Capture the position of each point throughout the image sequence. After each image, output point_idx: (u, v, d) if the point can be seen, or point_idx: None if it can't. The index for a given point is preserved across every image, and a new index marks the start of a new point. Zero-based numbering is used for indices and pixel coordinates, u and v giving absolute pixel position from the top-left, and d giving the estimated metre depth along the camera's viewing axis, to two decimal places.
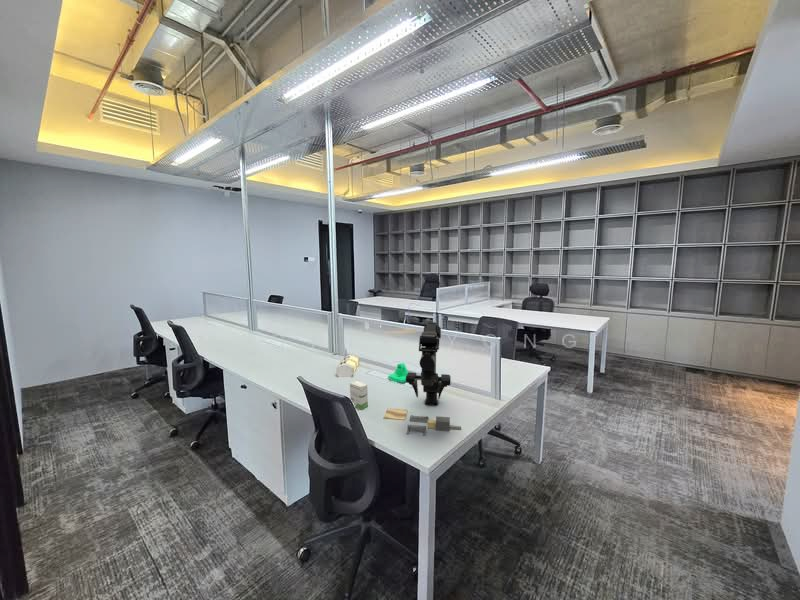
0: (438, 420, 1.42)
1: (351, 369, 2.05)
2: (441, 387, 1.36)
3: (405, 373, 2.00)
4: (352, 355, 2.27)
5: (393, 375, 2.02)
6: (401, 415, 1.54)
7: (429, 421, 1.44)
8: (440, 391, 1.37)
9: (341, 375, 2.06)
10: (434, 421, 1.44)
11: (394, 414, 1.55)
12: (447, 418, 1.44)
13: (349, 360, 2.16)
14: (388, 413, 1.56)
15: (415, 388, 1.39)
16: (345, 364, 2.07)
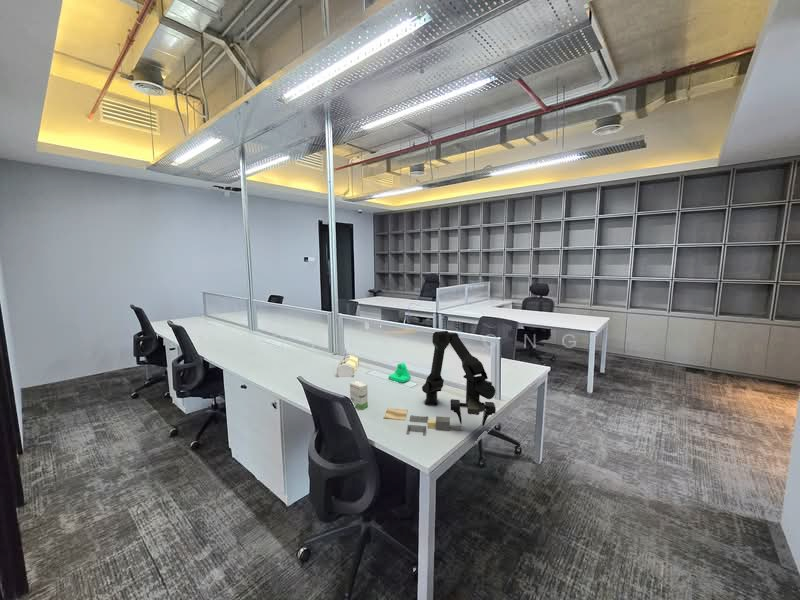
0: (438, 420, 1.42)
1: (352, 369, 2.05)
2: (486, 415, 1.38)
3: (405, 373, 2.00)
4: (352, 355, 2.27)
5: (393, 375, 2.03)
6: (401, 415, 1.54)
7: (429, 421, 1.44)
8: (485, 419, 1.39)
9: (341, 375, 2.06)
10: (434, 421, 1.44)
11: (394, 414, 1.55)
12: (447, 418, 1.44)
13: (349, 360, 2.16)
14: (388, 413, 1.56)
15: (459, 415, 1.40)
16: (345, 364, 2.07)
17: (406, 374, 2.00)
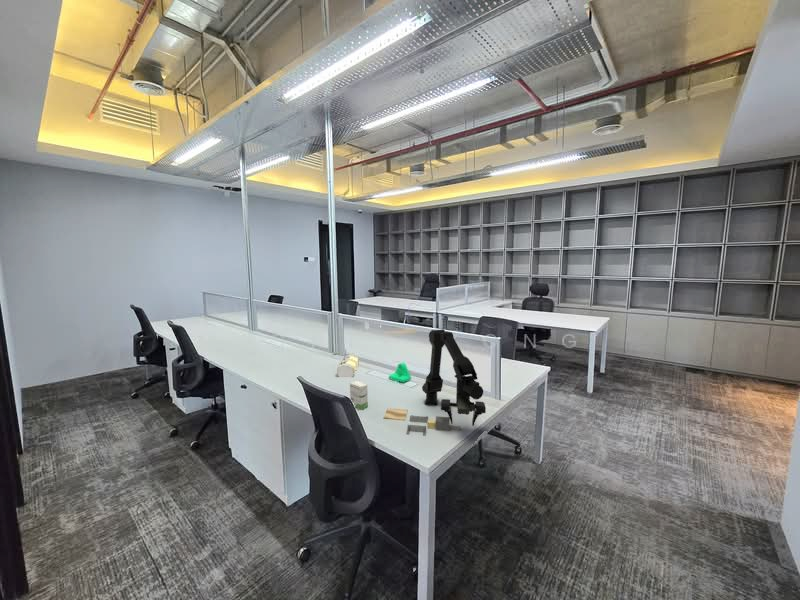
0: (438, 420, 1.42)
1: (352, 369, 2.05)
2: (476, 415, 1.38)
3: (406, 373, 2.01)
4: (352, 355, 2.27)
5: (394, 375, 2.03)
6: (401, 415, 1.54)
7: (429, 421, 1.44)
8: (474, 418, 1.40)
9: (342, 375, 2.06)
10: (434, 421, 1.44)
11: (394, 414, 1.55)
12: (447, 418, 1.44)
13: (349, 360, 2.16)
14: (388, 413, 1.56)
15: (450, 415, 1.41)
16: (346, 364, 2.07)
17: (406, 374, 2.00)
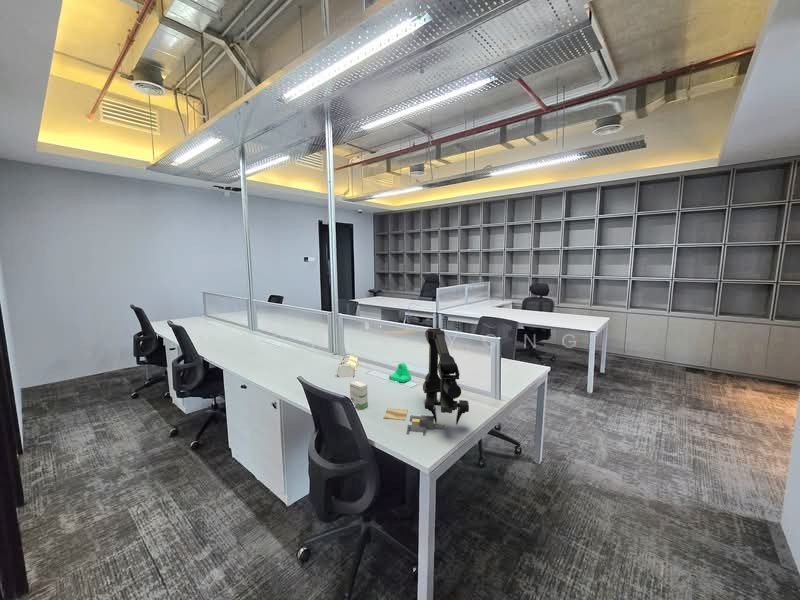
0: (422, 419, 1.43)
1: (352, 369, 2.05)
2: (459, 413, 1.40)
3: (406, 373, 2.01)
4: (351, 355, 2.27)
5: (394, 375, 2.03)
6: (401, 415, 1.54)
7: (413, 420, 1.45)
8: (458, 417, 1.41)
9: (342, 375, 2.05)
10: (418, 420, 1.45)
11: (394, 414, 1.55)
12: (431, 417, 1.45)
13: (349, 360, 2.15)
14: (388, 413, 1.56)
15: (434, 414, 1.42)
16: (346, 364, 2.07)
17: (407, 374, 2.01)
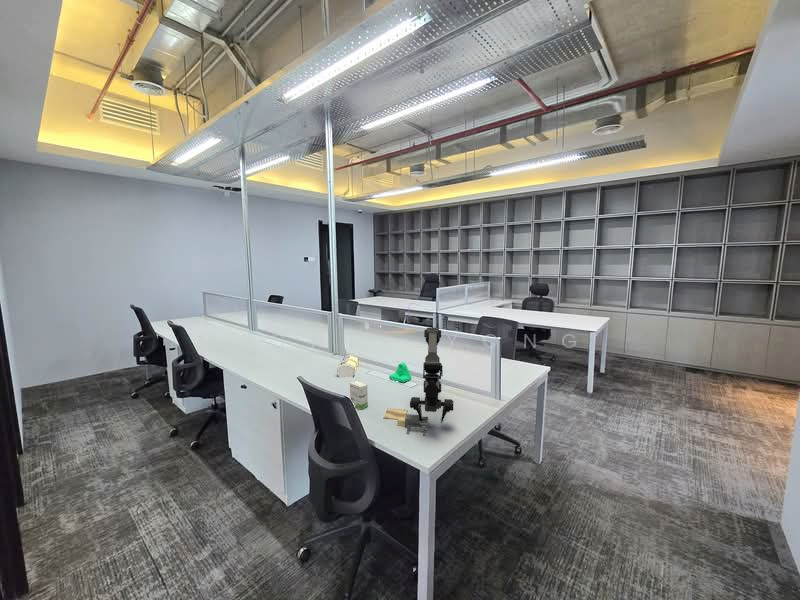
0: (407, 418, 1.44)
1: (352, 369, 2.05)
2: (444, 412, 1.40)
3: (406, 372, 2.01)
4: (351, 355, 2.27)
5: (394, 375, 2.03)
6: (401, 415, 1.54)
7: (399, 419, 1.46)
8: (443, 416, 1.42)
9: (342, 375, 2.05)
10: (404, 419, 1.46)
11: (394, 414, 1.55)
12: (416, 416, 1.46)
13: (349, 360, 2.15)
14: (388, 413, 1.56)
15: (419, 413, 1.43)
16: (346, 364, 2.07)
17: (407, 374, 2.01)
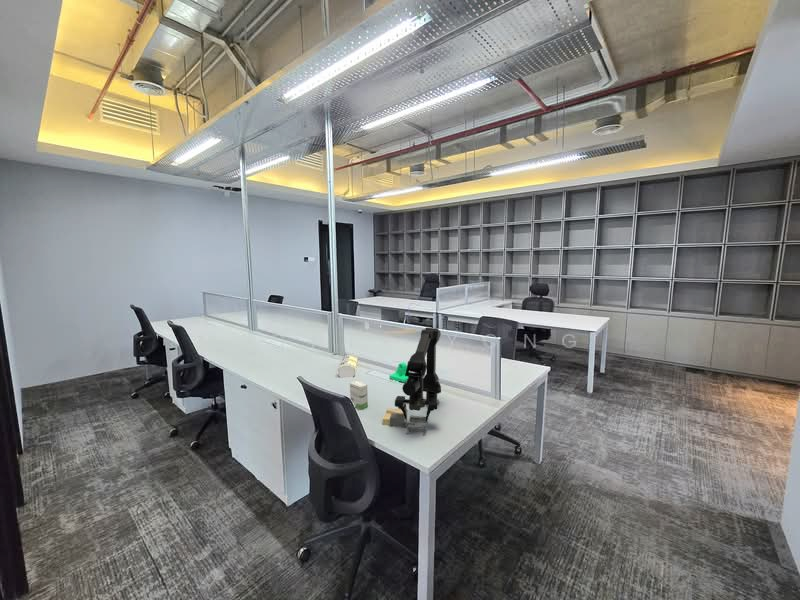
0: (392, 417, 1.45)
1: (353, 369, 2.05)
2: (428, 411, 1.42)
3: None
4: (351, 355, 2.27)
5: (394, 375, 2.03)
6: None
7: (384, 418, 1.47)
8: (427, 414, 1.43)
9: (343, 375, 2.05)
10: (389, 418, 1.47)
11: None
12: (402, 415, 1.47)
13: (349, 360, 2.15)
14: (388, 413, 1.56)
15: (404, 411, 1.44)
16: (347, 364, 2.07)
17: None
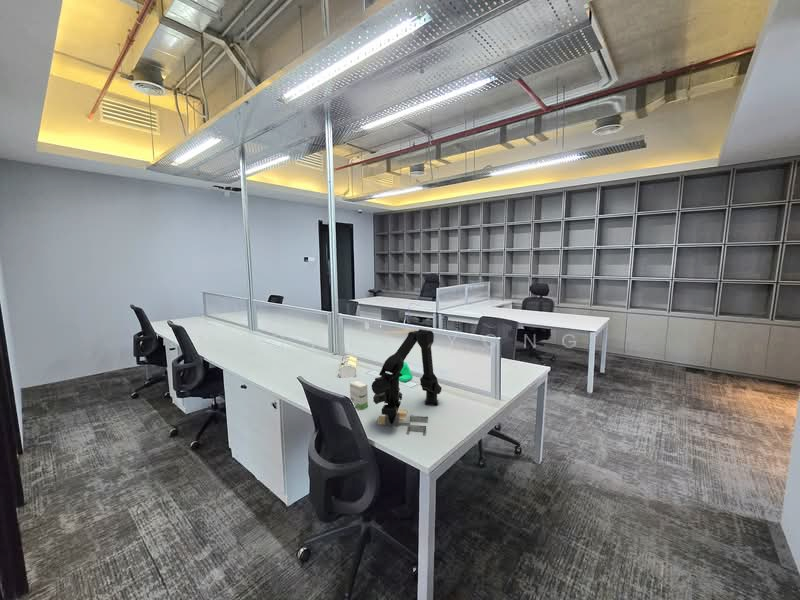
0: (387, 416, 1.45)
1: (354, 369, 2.05)
2: None
3: (407, 372, 2.02)
4: (350, 355, 2.27)
5: None
6: (401, 415, 1.54)
7: (379, 417, 1.47)
8: None
9: (344, 376, 2.05)
10: (384, 417, 1.47)
11: None
12: (397, 414, 1.47)
13: (350, 360, 2.15)
14: None
15: None
16: (348, 364, 2.07)
17: (408, 373, 2.02)
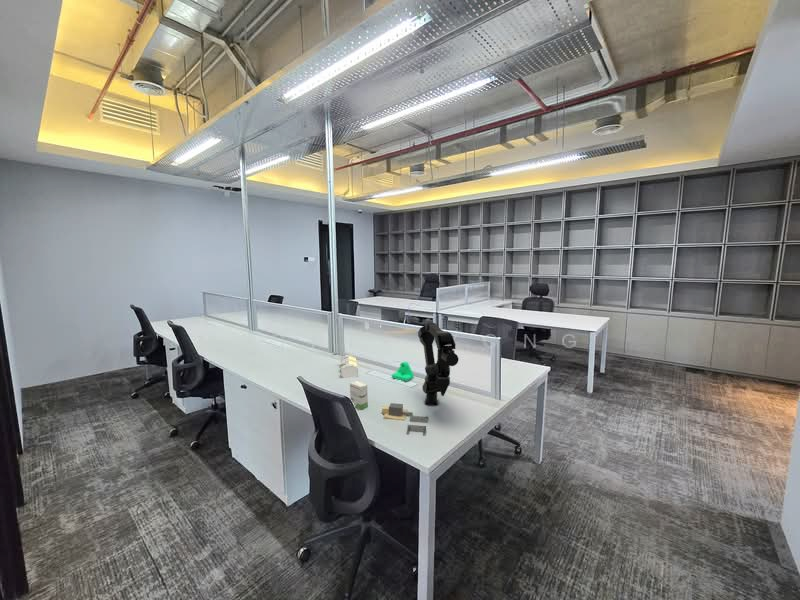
0: (391, 406, 1.54)
1: (356, 369, 2.05)
2: None
3: (409, 371, 2.03)
4: (349, 355, 2.26)
5: (396, 374, 2.05)
6: None
7: (383, 407, 1.56)
8: (439, 388, 1.48)
9: (346, 376, 2.04)
10: (388, 407, 1.56)
11: None
12: (400, 405, 1.56)
13: (350, 360, 2.15)
14: None
15: None
16: (349, 365, 2.06)
17: (409, 372, 2.03)
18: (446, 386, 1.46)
